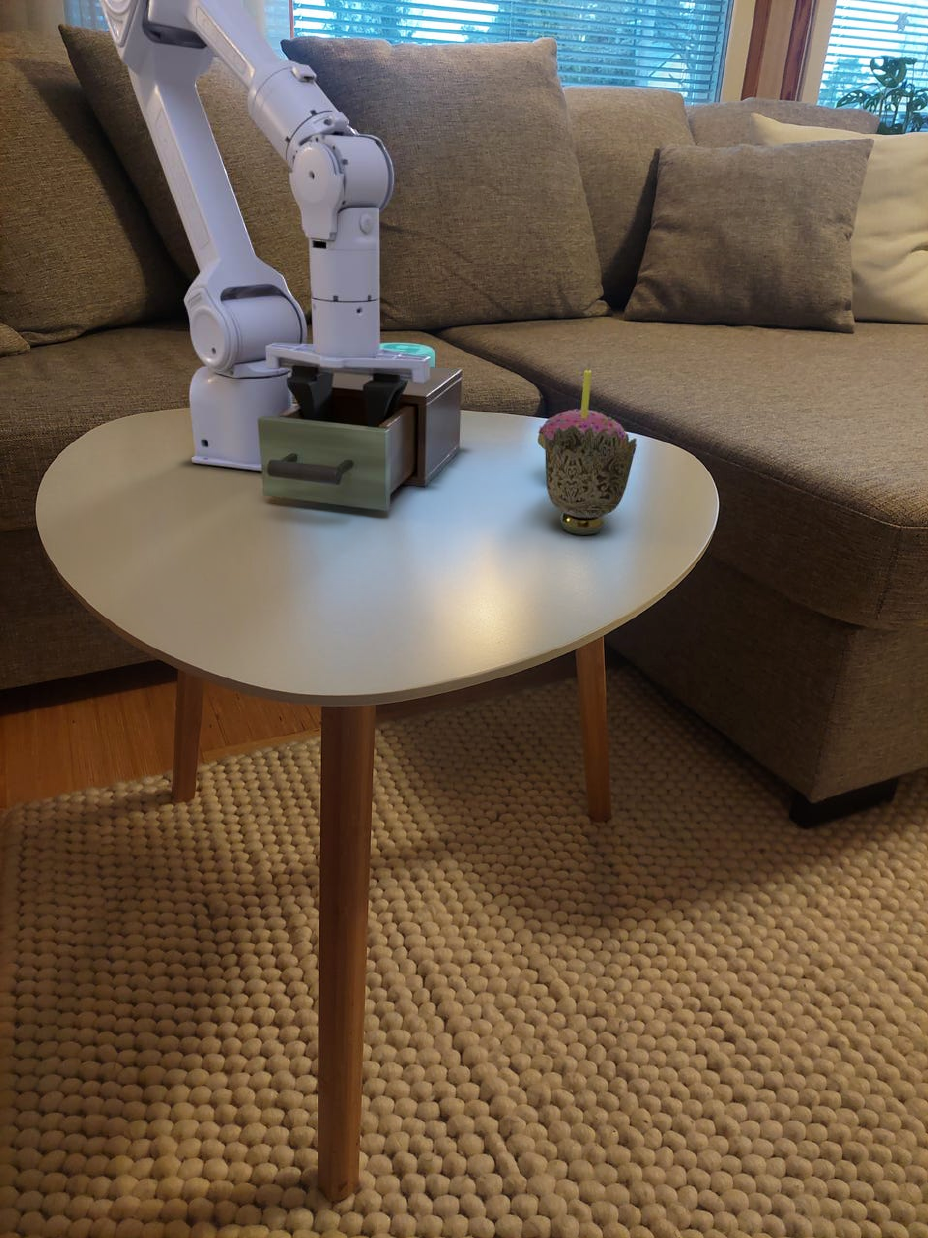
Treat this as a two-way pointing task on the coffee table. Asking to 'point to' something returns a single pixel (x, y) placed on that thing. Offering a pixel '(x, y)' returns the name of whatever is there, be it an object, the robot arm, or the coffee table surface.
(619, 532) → the coffee table surface
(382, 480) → the drawer
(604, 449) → the cup
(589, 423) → the cupcake
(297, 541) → the coffee table surface
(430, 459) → the cabinet
